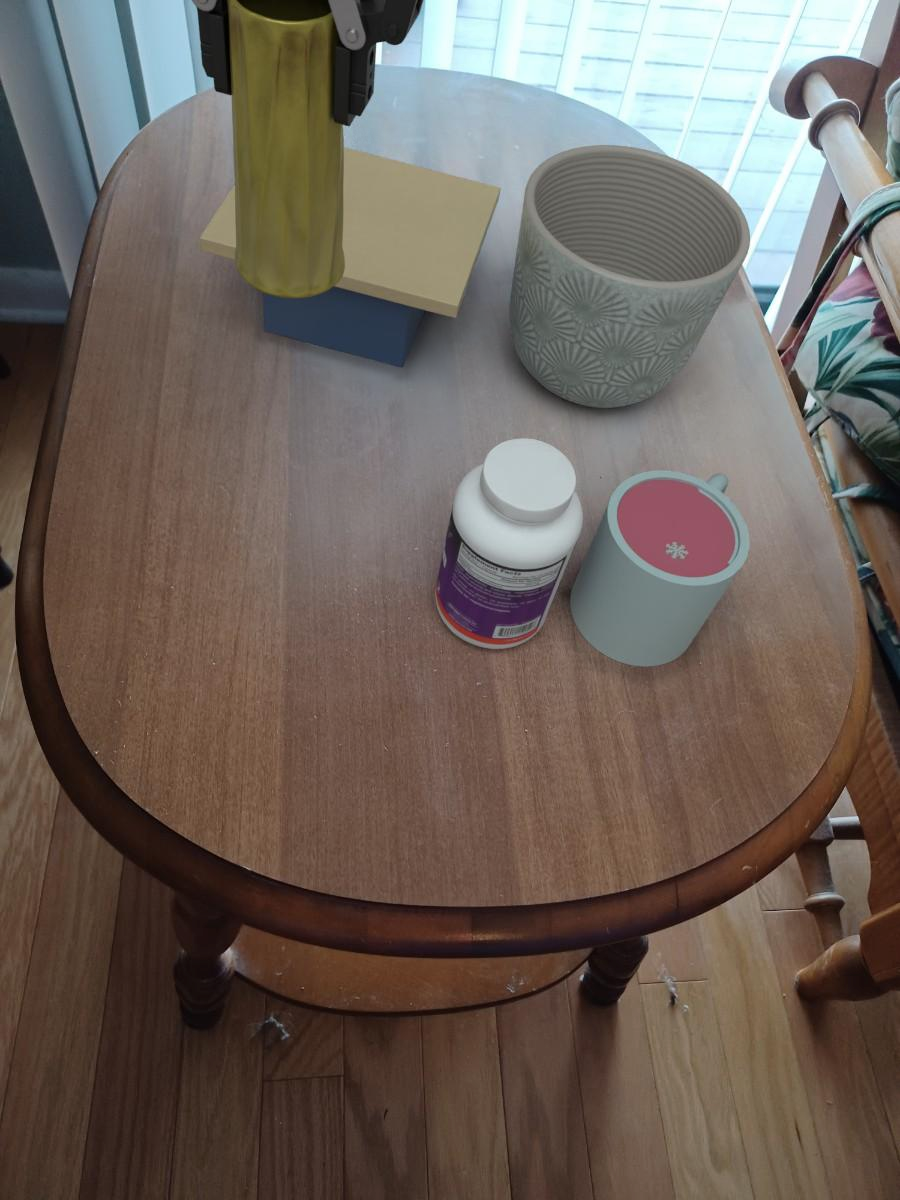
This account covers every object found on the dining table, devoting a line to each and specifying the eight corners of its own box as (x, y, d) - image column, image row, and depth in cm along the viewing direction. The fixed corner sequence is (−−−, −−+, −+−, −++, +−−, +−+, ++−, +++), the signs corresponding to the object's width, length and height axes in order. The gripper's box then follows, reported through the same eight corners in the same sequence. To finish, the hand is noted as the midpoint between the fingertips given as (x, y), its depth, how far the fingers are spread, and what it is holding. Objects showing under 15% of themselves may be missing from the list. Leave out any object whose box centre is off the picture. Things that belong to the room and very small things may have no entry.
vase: (265, 312, 51) (254, 38, 39) (216, 246, 54) (191, -31, 42) (364, 283, 54) (381, 15, 42) (312, 220, 56) (315, -49, 44)
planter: (678, 459, 77) (752, 309, 65) (475, 413, 77) (510, 254, 65) (686, 325, 87) (751, 172, 74) (505, 284, 87) (540, 123, 74)
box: (208, 333, 78) (199, 237, 71) (273, 223, 87) (271, 127, 80) (442, 396, 78) (458, 306, 70) (483, 278, 87) (501, 187, 79)
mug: (656, 690, 65) (708, 611, 57) (545, 614, 67) (580, 527, 59) (744, 570, 72) (802, 484, 64) (641, 504, 74) (684, 413, 66)
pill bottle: (472, 542, 70) (507, 400, 58) (565, 598, 68) (621, 464, 56) (410, 615, 66) (434, 478, 54) (508, 677, 64) (555, 550, 52)
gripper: (509, -368, 34) (450, 100, 48) (125, -463, 34) (178, 29, 48) (459, -316, 30) (410, 182, 44) (22, -424, 30) (112, 102, 44)
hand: (288, 99), depth 46 cm, fingers closed on vase, 5 cm apart
